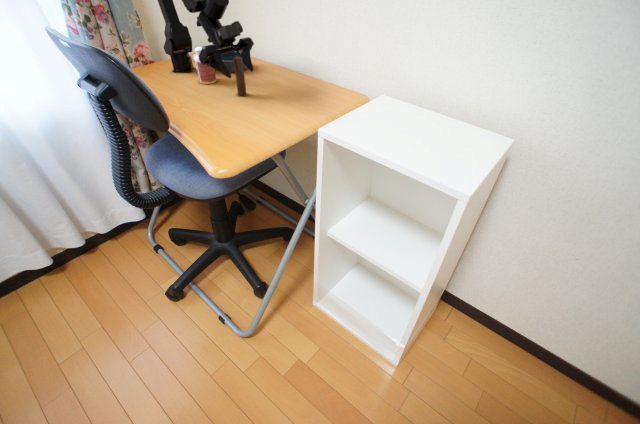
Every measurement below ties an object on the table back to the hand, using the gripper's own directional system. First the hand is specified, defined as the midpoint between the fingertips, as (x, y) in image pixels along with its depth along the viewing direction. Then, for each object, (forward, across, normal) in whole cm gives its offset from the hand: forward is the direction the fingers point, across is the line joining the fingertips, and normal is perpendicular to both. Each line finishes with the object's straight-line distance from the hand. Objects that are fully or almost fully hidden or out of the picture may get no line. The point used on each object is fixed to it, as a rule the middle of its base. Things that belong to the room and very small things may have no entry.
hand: (241, 74), depth 100 cm
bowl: (-14, +15, +23) cm, 31 cm away
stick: (+4, 0, +6) cm, 7 cm away
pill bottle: (-9, -1, +19) cm, 21 cm away
